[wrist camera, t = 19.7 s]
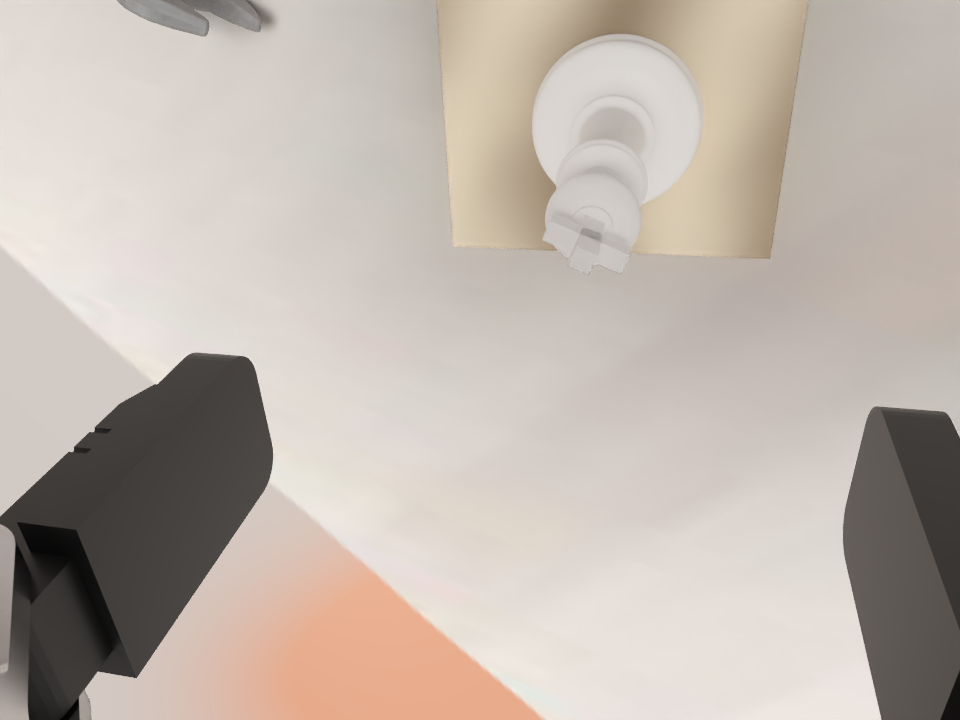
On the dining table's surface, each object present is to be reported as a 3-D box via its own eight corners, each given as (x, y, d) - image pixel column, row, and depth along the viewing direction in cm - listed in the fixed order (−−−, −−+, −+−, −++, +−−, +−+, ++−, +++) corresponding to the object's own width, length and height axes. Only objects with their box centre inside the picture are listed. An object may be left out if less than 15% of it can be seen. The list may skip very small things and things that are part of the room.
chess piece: (572, 4, 22) (509, 83, 14) (736, 76, 22) (772, 198, 14) (508, 164, 25) (423, 313, 16) (654, 228, 25) (643, 408, 17)
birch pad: (807, -34, 21) (813, -30, 21) (766, 246, 26) (769, 258, 25) (443, -23, 23) (435, -20, 23) (459, 235, 27) (452, 246, 27)
